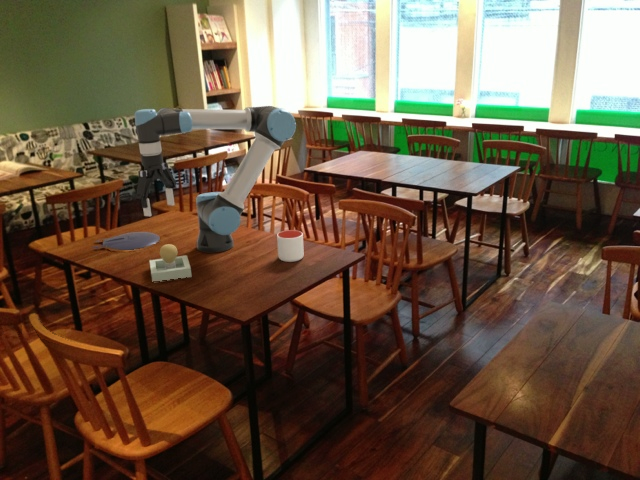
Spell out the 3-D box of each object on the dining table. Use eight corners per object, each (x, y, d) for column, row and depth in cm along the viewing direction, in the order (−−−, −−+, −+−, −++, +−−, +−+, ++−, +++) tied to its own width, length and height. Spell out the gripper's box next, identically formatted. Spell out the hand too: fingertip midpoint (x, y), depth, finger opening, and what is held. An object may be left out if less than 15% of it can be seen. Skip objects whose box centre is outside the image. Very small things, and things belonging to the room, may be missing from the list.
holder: (187, 263, 228) (186, 255, 227) (191, 276, 215) (190, 268, 214) (150, 268, 224) (149, 260, 223) (152, 282, 211) (151, 273, 210)
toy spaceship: (90, 257, 239) (89, 249, 238) (97, 238, 261) (95, 231, 260) (160, 249, 245) (159, 242, 244) (161, 231, 267) (160, 225, 266)
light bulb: (170, 274, 215) (167, 248, 212) (158, 271, 219) (155, 246, 215) (183, 268, 220) (180, 243, 217) (171, 265, 224) (167, 240, 220)
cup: (308, 255, 232) (307, 231, 229) (296, 264, 223) (295, 239, 220) (285, 252, 236) (284, 228, 233) (273, 261, 228) (272, 236, 224)
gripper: (164, 146, 222) (172, 200, 229) (119, 161, 200) (129, 219, 208) (180, 147, 219) (188, 201, 226) (136, 161, 197) (146, 221, 205)
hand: (159, 210), depth 217 cm, fingers open, 13 cm apart
